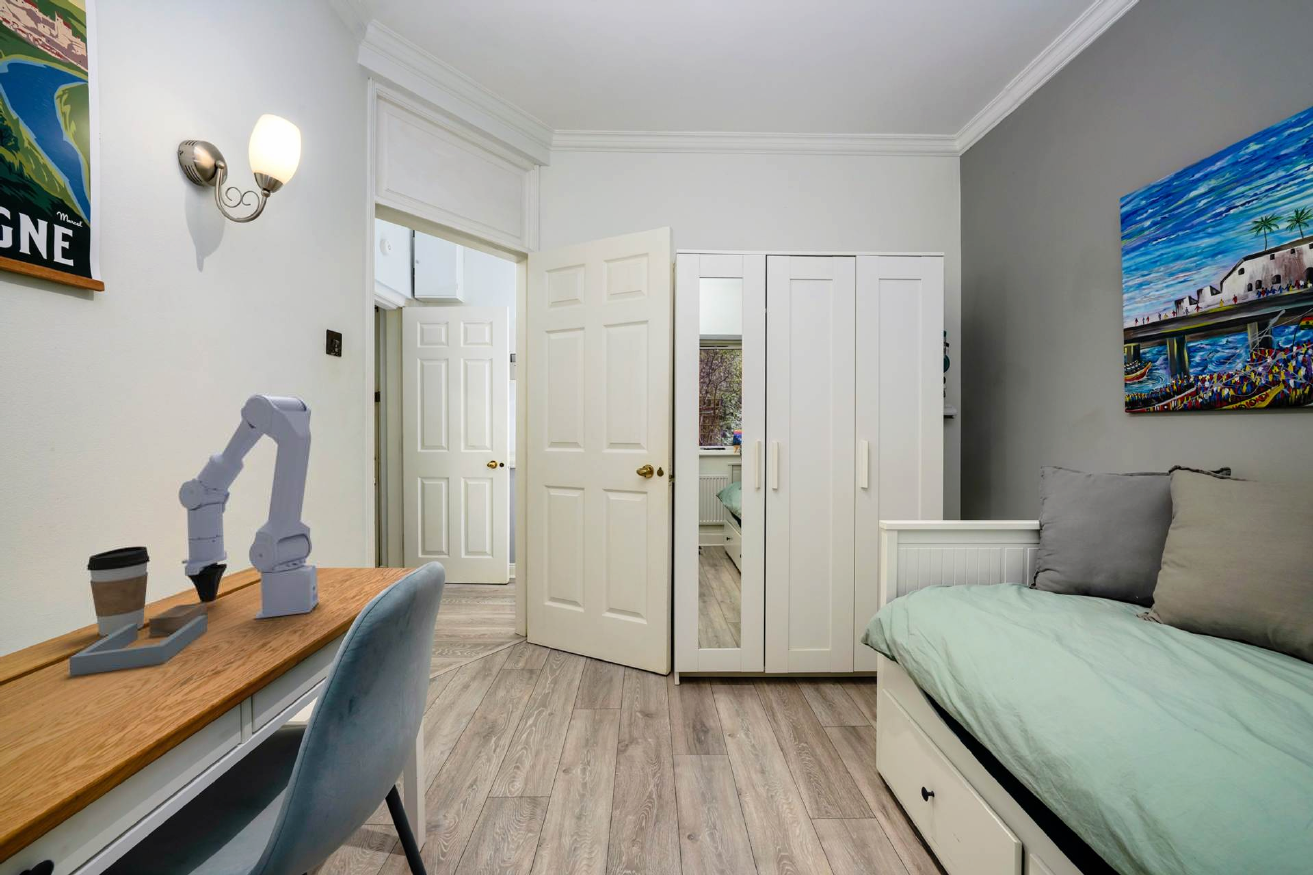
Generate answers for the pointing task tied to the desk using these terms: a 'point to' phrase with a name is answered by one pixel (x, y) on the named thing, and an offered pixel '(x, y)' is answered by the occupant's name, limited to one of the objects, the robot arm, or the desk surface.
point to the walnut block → (175, 618)
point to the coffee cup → (119, 587)
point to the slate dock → (133, 649)
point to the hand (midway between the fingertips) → (208, 601)
